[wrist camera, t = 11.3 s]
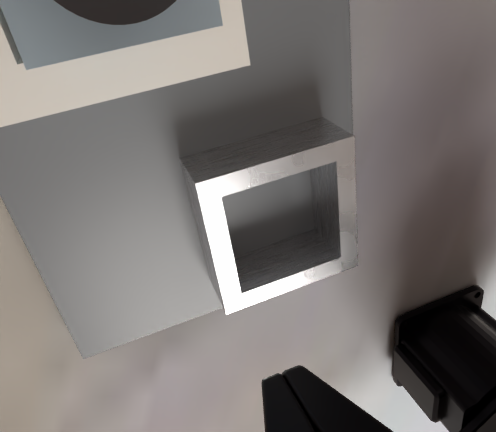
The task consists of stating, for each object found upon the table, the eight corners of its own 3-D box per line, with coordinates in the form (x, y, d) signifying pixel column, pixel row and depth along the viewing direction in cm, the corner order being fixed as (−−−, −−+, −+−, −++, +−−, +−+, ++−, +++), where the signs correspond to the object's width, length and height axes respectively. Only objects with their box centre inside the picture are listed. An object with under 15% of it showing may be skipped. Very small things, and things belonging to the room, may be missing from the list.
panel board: (317, -376, 13) (338, -404, 12) (344, 246, 25) (356, 258, 24) (-265, -363, 10) (-301, -399, 9) (82, 340, 22) (83, 359, 21)
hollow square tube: (322, 116, 19) (354, 135, 17) (330, 237, 22) (357, 265, 20) (179, 157, 18) (195, 183, 16) (209, 279, 21) (226, 314, 19)
